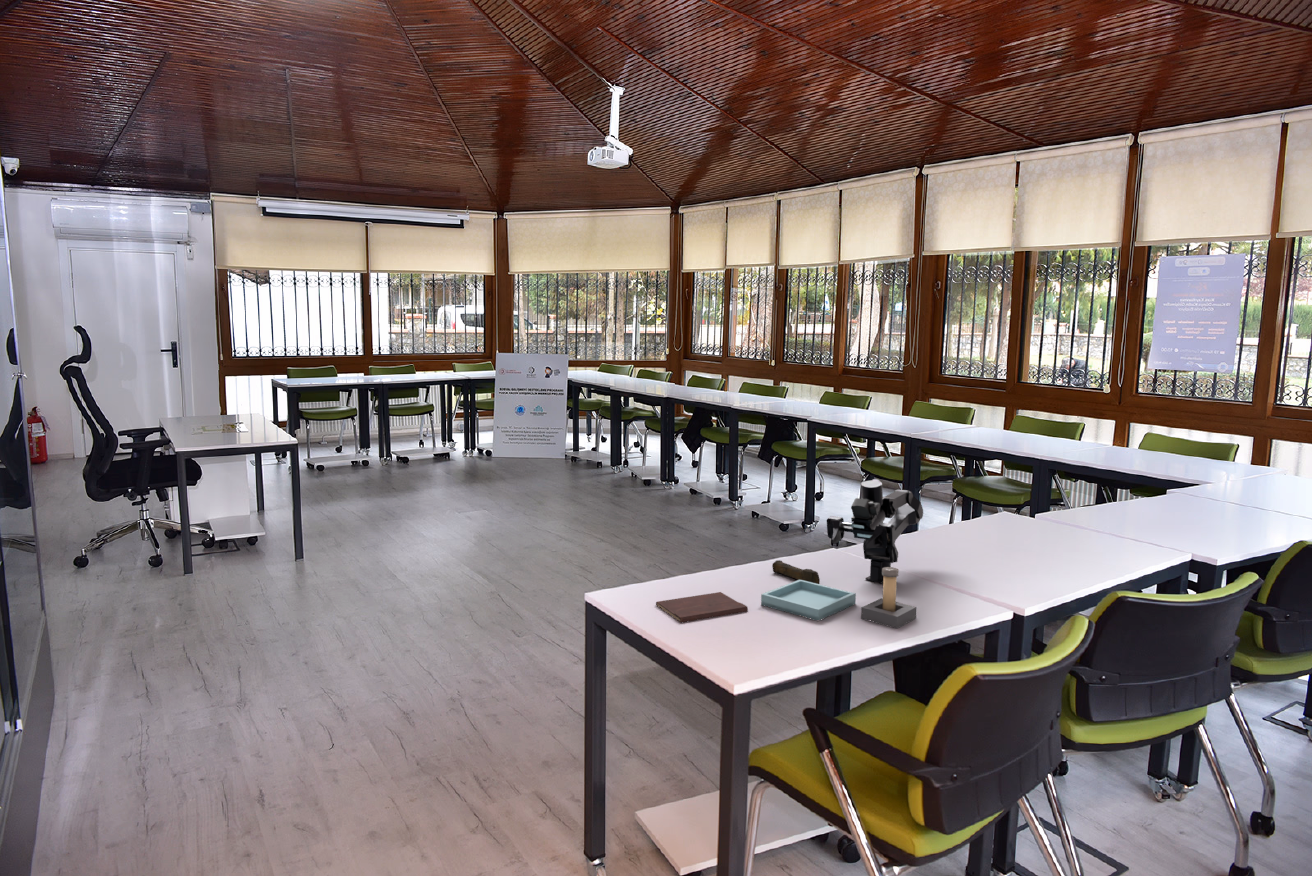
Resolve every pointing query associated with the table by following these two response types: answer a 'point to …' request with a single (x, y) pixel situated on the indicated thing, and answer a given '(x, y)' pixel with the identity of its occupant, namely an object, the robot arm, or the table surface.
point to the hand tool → (796, 572)
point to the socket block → (888, 613)
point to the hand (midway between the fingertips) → (848, 544)
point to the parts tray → (808, 599)
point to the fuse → (889, 588)
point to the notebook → (702, 607)
